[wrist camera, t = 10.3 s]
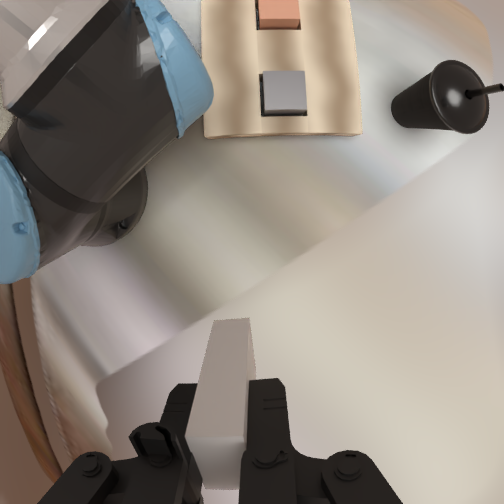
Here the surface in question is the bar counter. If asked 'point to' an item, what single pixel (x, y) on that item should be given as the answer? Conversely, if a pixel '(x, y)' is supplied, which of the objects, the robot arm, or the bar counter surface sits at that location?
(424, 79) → the drinking cup
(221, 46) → the panel
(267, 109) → the gray block
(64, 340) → the bar counter surface
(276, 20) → the salmon block
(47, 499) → the robot arm
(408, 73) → the bar counter surface
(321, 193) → the bar counter surface
